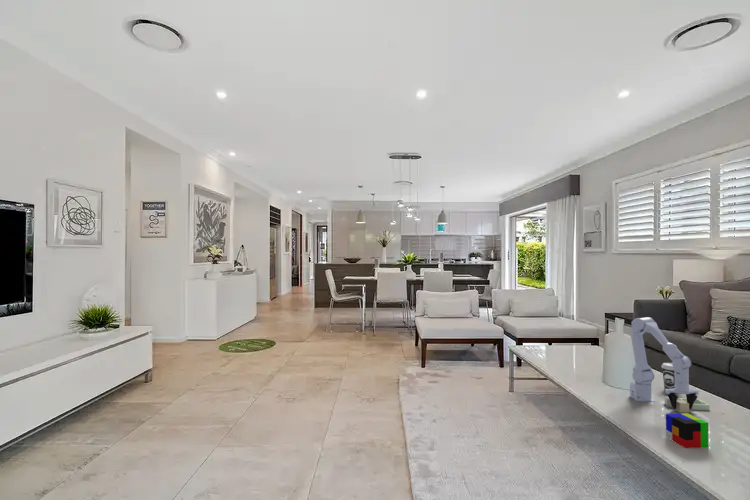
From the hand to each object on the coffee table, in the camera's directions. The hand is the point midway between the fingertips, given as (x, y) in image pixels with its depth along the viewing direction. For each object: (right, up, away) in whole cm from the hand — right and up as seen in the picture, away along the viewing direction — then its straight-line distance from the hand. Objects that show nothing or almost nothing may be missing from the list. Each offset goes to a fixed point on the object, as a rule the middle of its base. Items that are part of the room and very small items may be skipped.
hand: (681, 408), depth 205 cm
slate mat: (0, -2, +2) cm, 3 cm away
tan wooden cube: (0, -1, 0) cm, 1 cm away
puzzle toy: (-23, -2, -33) cm, 40 cm away
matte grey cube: (0, -1, +7) cm, 7 cm away
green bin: (+11, -2, +6) cm, 12 cm away
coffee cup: (+18, -2, +32) cm, 36 cm away
